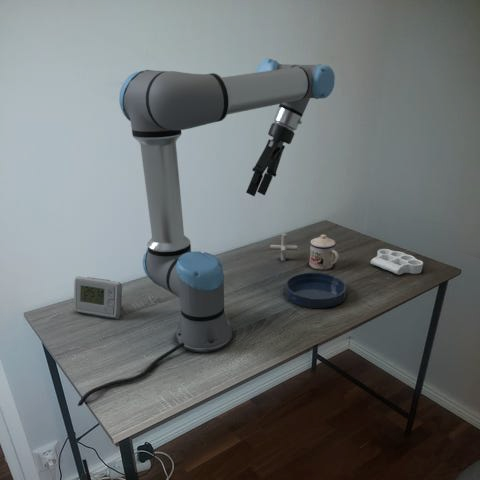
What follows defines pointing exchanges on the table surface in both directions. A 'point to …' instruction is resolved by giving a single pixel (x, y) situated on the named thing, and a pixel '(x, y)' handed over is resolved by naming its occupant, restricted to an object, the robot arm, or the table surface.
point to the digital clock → (97, 297)
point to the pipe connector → (283, 247)
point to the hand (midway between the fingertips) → (255, 194)
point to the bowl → (315, 290)
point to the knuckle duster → (397, 262)
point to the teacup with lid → (322, 253)
